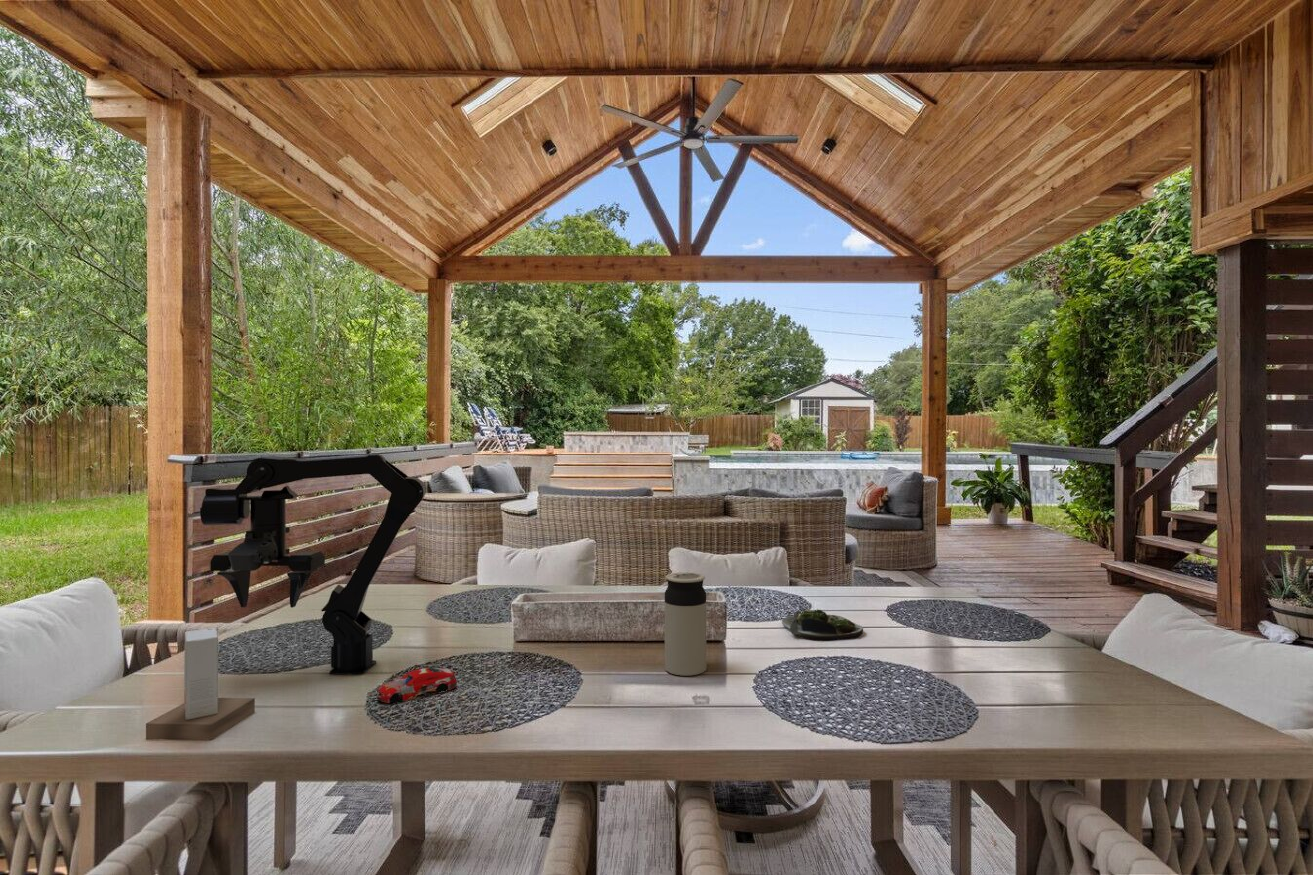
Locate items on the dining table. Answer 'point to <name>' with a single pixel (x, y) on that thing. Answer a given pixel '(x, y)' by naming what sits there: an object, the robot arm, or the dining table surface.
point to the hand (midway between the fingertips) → (268, 606)
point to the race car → (417, 685)
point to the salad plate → (821, 626)
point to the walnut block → (200, 721)
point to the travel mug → (685, 624)
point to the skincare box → (201, 673)
